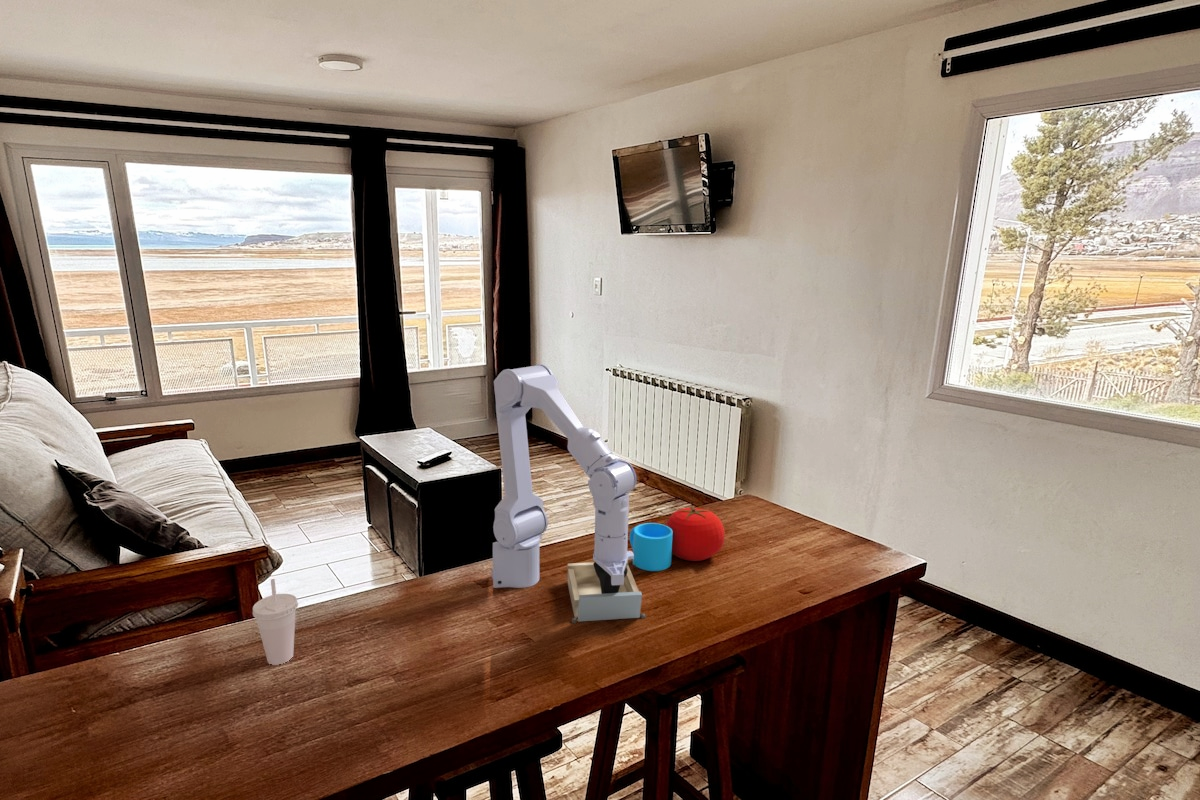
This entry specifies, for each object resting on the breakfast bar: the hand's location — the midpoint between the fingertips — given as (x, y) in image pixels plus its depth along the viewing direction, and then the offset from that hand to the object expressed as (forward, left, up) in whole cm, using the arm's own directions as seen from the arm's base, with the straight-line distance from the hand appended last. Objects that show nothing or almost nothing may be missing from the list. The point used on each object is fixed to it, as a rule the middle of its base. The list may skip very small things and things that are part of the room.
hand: (609, 602), depth 112 cm
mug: (+12, +23, -5) cm, 26 cm away
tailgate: (0, 0, -3) cm, 3 cm away
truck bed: (0, +8, -4) cm, 9 cm away
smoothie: (-54, -3, -5) cm, 54 cm away
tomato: (+23, +25, -5) cm, 34 cm away
